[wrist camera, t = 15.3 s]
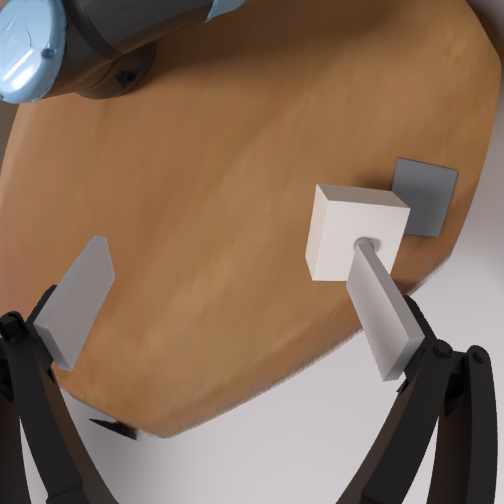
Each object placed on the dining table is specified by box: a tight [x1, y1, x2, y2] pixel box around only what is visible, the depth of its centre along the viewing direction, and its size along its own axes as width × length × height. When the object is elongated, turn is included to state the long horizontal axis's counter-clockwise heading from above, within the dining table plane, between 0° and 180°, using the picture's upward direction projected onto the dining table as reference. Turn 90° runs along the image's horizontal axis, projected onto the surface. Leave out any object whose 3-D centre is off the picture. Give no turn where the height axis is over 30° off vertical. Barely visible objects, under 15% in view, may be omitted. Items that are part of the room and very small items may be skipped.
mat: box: [390, 158, 458, 237], centre depth 47 cm, size 14×14×1 cm
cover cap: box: [305, 183, 410, 281], centre depth 38 cm, size 11×11×7 cm
